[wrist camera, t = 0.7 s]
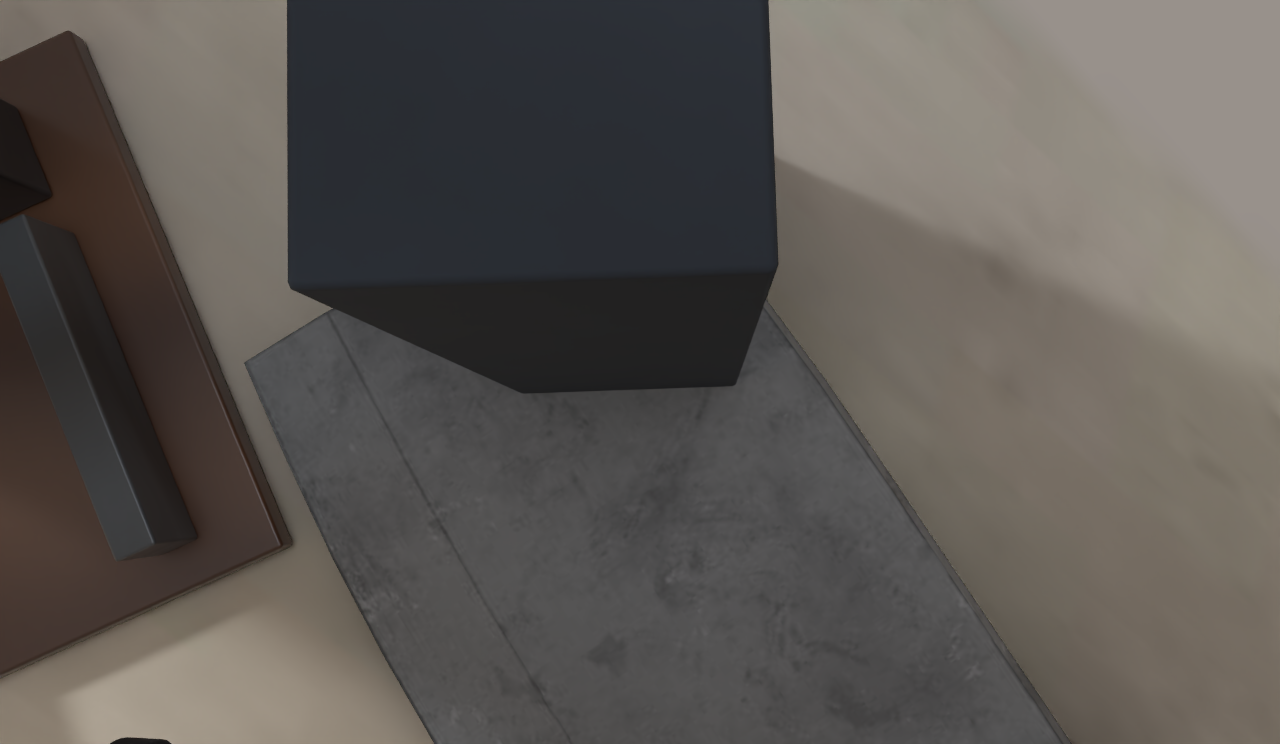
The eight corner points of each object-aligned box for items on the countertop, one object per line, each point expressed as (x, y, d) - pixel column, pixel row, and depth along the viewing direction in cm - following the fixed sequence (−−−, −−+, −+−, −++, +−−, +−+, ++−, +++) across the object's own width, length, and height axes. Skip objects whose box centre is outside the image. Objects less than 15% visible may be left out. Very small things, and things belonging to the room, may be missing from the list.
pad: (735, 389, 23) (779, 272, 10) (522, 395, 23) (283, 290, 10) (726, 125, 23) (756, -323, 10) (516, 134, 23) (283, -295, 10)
